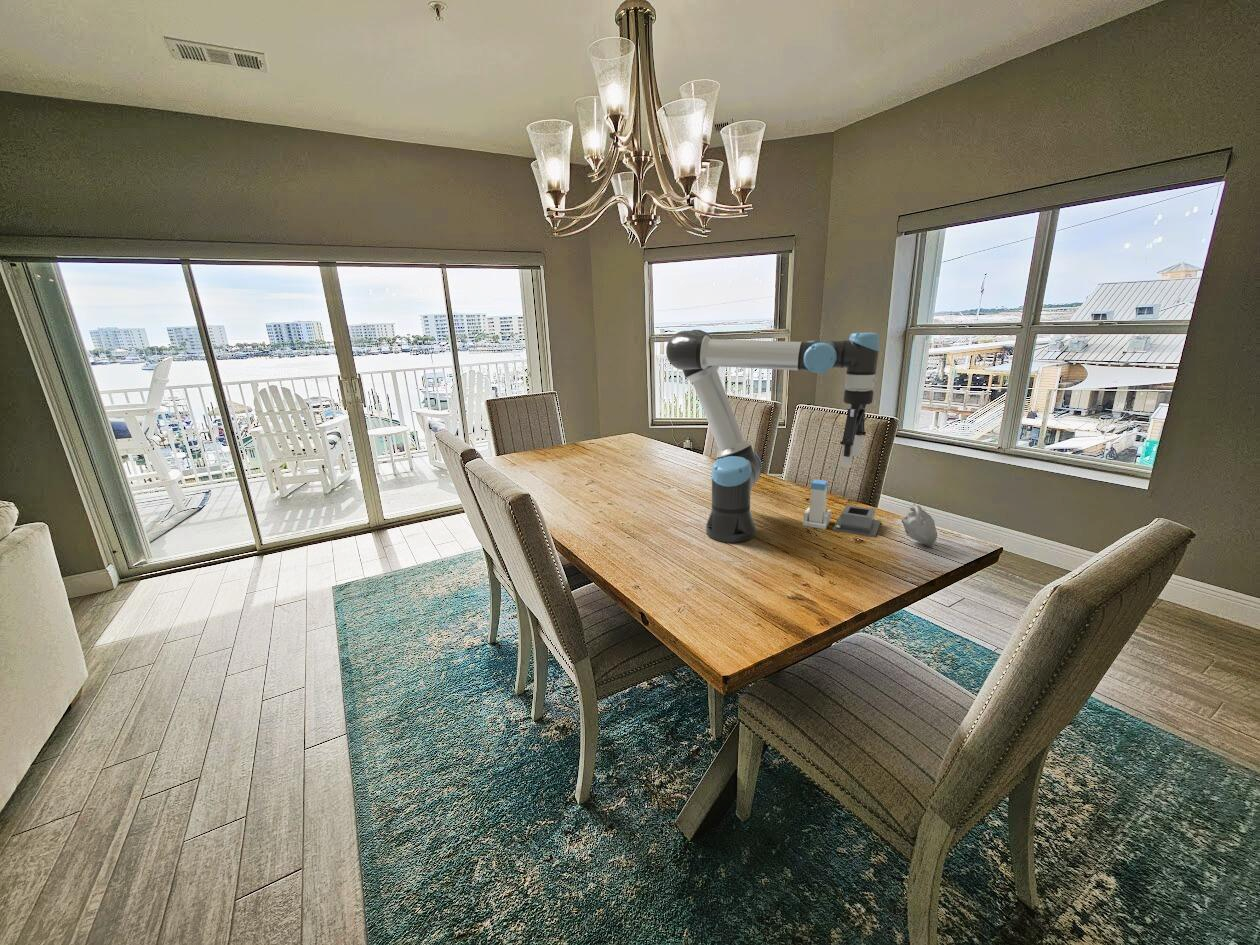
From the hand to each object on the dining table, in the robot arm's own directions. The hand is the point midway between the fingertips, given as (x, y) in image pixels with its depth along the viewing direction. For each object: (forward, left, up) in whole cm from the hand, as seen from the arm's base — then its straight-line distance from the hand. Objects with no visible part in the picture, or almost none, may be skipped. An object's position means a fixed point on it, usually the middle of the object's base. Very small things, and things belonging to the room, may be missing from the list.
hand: (850, 461), depth 142 cm
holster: (-9, +2, -22) cm, 24 cm away
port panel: (+3, +5, -22) cm, 23 cm away
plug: (-9, +2, -22) cm, 24 cm away
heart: (+20, -2, -23) cm, 30 cm away
